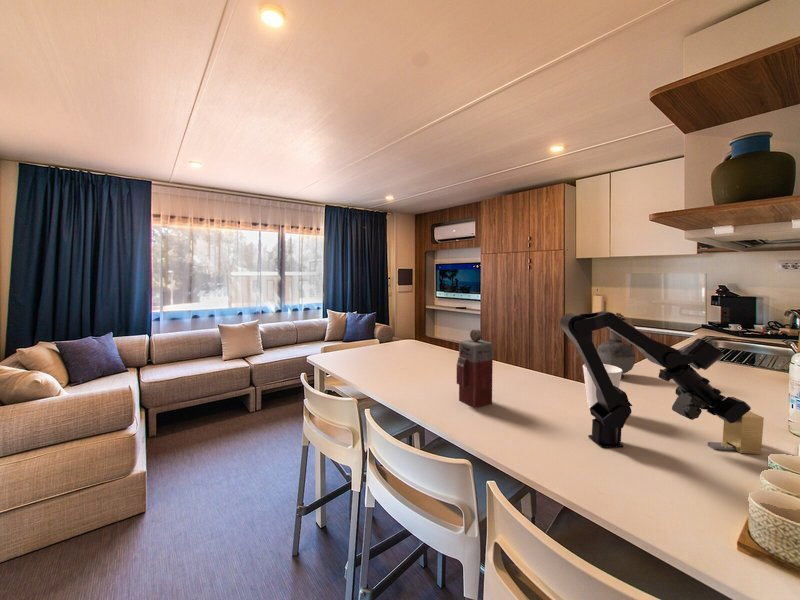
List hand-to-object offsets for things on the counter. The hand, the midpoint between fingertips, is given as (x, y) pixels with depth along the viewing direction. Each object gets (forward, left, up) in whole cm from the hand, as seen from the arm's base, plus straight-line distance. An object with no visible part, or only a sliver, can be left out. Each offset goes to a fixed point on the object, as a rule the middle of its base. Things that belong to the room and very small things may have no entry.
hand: (731, 420), depth 91 cm
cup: (-20, +26, -8) cm, 33 cm away
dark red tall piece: (-62, +38, -8) cm, 73 cm away
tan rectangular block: (+3, 0, -8) cm, 8 cm away
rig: (+3, +3, -8) cm, 9 cm away
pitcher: (+15, +65, -8) cm, 67 cm away
